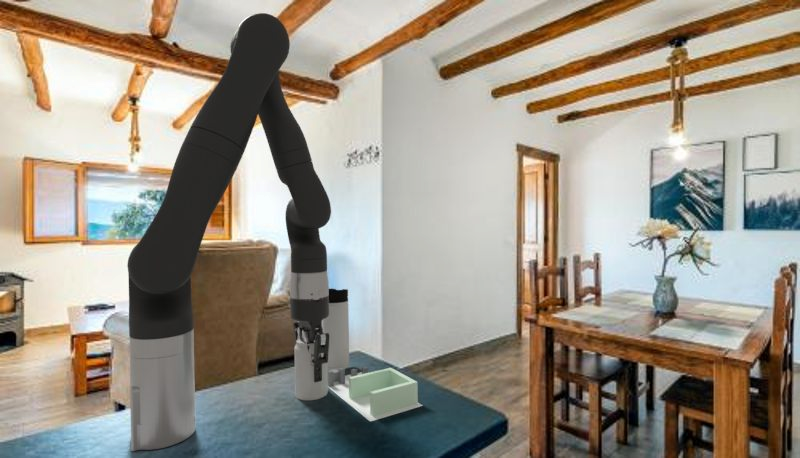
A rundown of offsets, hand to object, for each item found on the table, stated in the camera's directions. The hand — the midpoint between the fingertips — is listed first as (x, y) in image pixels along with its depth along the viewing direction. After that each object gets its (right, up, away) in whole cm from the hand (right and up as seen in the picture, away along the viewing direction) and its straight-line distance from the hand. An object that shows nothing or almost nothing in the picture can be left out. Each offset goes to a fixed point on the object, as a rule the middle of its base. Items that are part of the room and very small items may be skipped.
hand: (311, 378), depth 83 cm
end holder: (+14, -3, -4) cm, 15 cm away
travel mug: (+3, -4, +15) cm, 16 cm away
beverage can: (0, -4, 0) cm, 4 cm away
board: (+11, -4, 0) cm, 12 cm away
